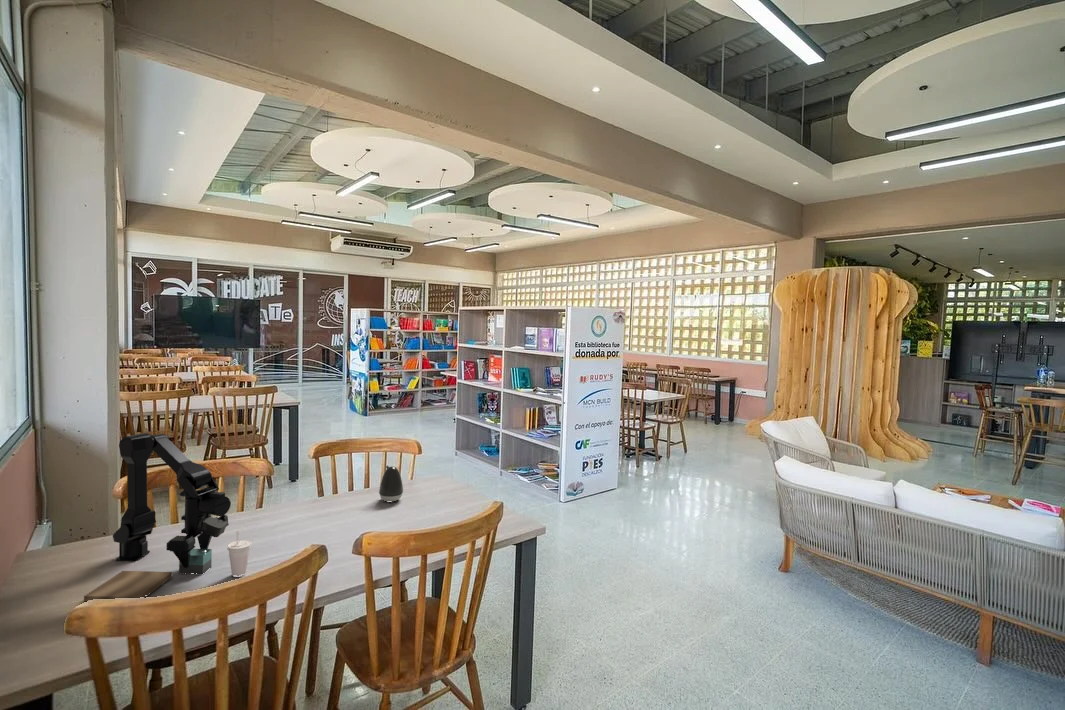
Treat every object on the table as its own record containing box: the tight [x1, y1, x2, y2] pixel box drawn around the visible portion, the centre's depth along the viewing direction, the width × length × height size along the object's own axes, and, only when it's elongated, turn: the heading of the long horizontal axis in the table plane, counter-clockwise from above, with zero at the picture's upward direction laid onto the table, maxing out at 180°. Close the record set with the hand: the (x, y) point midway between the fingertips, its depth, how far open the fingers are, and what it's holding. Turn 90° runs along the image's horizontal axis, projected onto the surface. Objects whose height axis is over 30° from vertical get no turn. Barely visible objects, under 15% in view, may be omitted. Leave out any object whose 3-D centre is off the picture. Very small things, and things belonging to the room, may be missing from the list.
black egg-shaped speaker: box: [378, 465, 404, 502], centre depth 226 cm, size 10×10×15 cm
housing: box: [178, 548, 213, 575], centre depth 158 cm, size 7×4×6 cm, turn 93°
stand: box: [83, 570, 173, 603], centre depth 145 cm, size 14×14×2 cm
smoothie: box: [226, 530, 252, 578], centre depth 156 cm, size 6×6×14 cm
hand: (195, 560), depth 158 cm, fingers open, 9 cm apart
